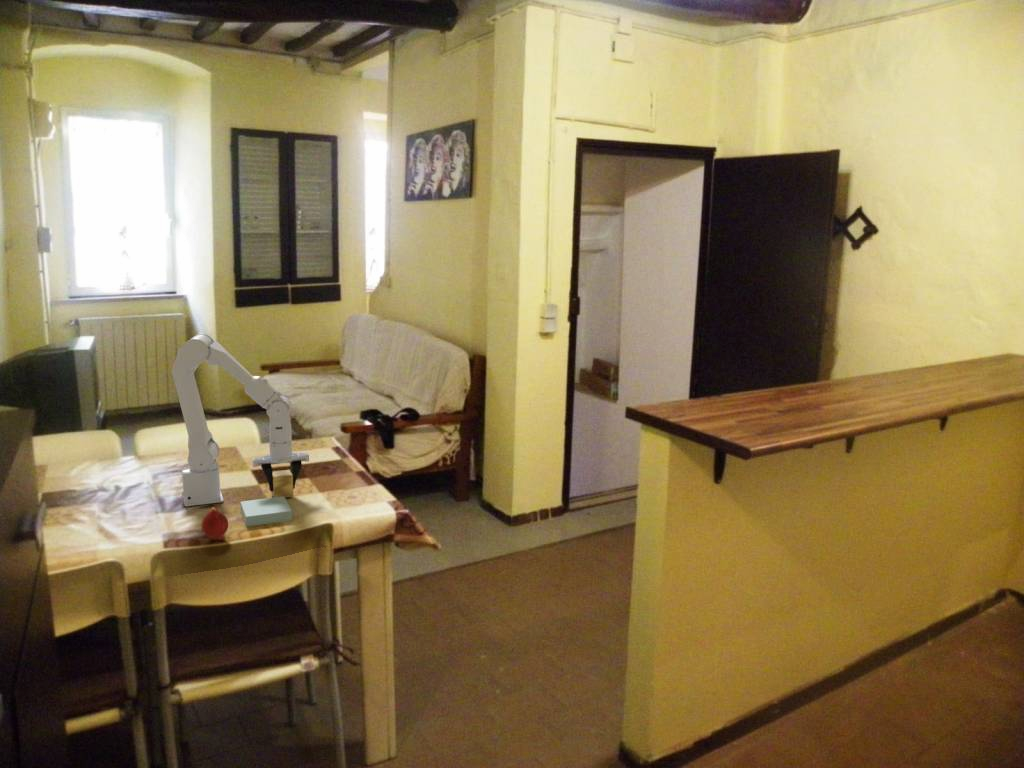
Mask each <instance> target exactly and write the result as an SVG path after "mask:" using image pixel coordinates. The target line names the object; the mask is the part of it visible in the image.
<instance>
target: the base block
mask: <svg viewBox="0 0 1024 768" xmlns="http://www.w3.org/2000/svg"><path fill="white" fill-rule="evenodd" d="M240 512H242V513H241V515H243V516H242V519H243V521H244V524H245V526H247V527H254V526H258V525H259V526H262V525H266V524H268V525H269V524H275V523H282V522H289V521H293V510H292V508H291V506H290V505H289V502H288V500H287V499H286V497H284V496H282V497H268V498H267V497H266V498H258V499H251V500H244V501H240ZM253 525H254V526H253Z"/></svg>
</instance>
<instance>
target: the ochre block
mask: <svg viewBox="0 0 1024 768" xmlns="http://www.w3.org/2000/svg"><path fill="white" fill-rule="evenodd" d="M272 481H273V491H270V492H271V495H272V498H274V497H282V496H284V497H285V498H290V497H294V489H293V475H292V473H291V470H290V469H284V470H273V474H272Z"/></svg>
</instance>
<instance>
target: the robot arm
mask: <svg viewBox="0 0 1024 768" xmlns="http://www.w3.org/2000/svg"><path fill="white" fill-rule="evenodd" d="M206 360H207V361H206ZM205 361H206V365H209V366H210V365H211V366H220V368H222V369H223V370H224V371H226V372H227V373H228V374H229V375H231V376H232V377H233V378H234V379H235V380H237V381H238V382H239V383H241V384H242V385H243V387H244V393H245V394H246V395H247V396H249V397H250V398H251V399H252V400H253V401H254V402H256V404H257V405H259V406H260V407H261V408H262V409H265V410H266V415H267V417H268V418H269V424H268V435H269V436H268V437H269V440H268V441H269V444H268V445H269V454H268V455H263V456H258V457H252V458H251V459H252V460H251V461H252V467H253V468H257V467H260V468H261V469H262V471H263V473H264V475H265V478H266V479H267V484H268V488H269V491H270V492H271V491H273V481H272V474H273V471H274V470H273V466H272V465H279V464H289V466H290V468H289V470H290V471H291V473H292V475H293V490H294V489H295V488H296V482H297V478H298V475H299V473H300V472H301V470H302V467H303V463H302V462H310V454H309V453H308V452H293V446H292V445H293V444H292V441H293V440H292V437H293V436H292V423H291V419H292V417H291V409H292V402H291V401H292V400H291V399H290V398H289V396H288V395H286V394H283V393H282V391H280V390H279V391H278V390H277V389H275V388H274V387H273V386H272V385H271V384H270V383H269V379H268V378H267V377H262V376H260V375H253V374H251V373H250V371H248V370H247V369H246V368H245V367H244V365H242V363H240V362H239V361H238V360H237V359H236V358H235V357H234V356H233V355H232V354H231V353H230V352H228V350H227V349H226V348H224V347H223V345H221V344H220V343H219V342H218V341H216V340H214V339H213V338H212V337H211V336H210V335H208V334H206V333H197V334H195V335H194V336H192V337H191V338H190V339H188V340H187V341H186V342H184V343H183V345H181V347H179V349H178V351H177V355H176V358H175V361H174V362H173V365H172V368H171V374H172V378H173V382H174V385H175V390H176V394H177V397H178V401H179V405H180V408H181V413H182V416H183V417H182V418H183V421H184V423H185V429H186V431H187V435H188V439H187V448H188V456H187V464H188V466H189V468H186V469H182V470H181V481H182V490H181V497H182V498H183V503H184V506H185V507H192V506H200V505H209V504H217V503H223V502H224V498H223V494H222V491H221V483H220V482H221V481H220V478H221V477H220V464H219V462H218V461H217V459H216V458H217V457H218V456H219V454H220V447H219V445H218V443H217V442H216V441H215V439H214V438H213V434H212V432H211V431H210V430H209V427H208V424H207V419H206V415H205V413H204V407H203V404H202V400H201V396H200V392H199V389H198V384H197V380H196V377H195V372H196V370H197V368H198V367H199V366H200V365H201V364H202V363H203V362H205Z"/></svg>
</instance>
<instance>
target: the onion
mask: <svg viewBox="0 0 1024 768" xmlns="http://www.w3.org/2000/svg"><path fill="white" fill-rule="evenodd" d="M210 508H211V509H210V511H209V512H208V513H206V515H205V516H204V517H203V519H202V522H201V529H202V532H203V534H205V536H207V537H209V538H211V539H212V540H213V541H216V540H218V539H220V538H221V537H222V536H224V534H226V532H227V531H228V530H229V529H228V528H229V520H228V518H227V517H226V515H224V513H223V512H221V511H220V510H218V509H216V508H215V507H213V506H212V507H210Z"/></svg>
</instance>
